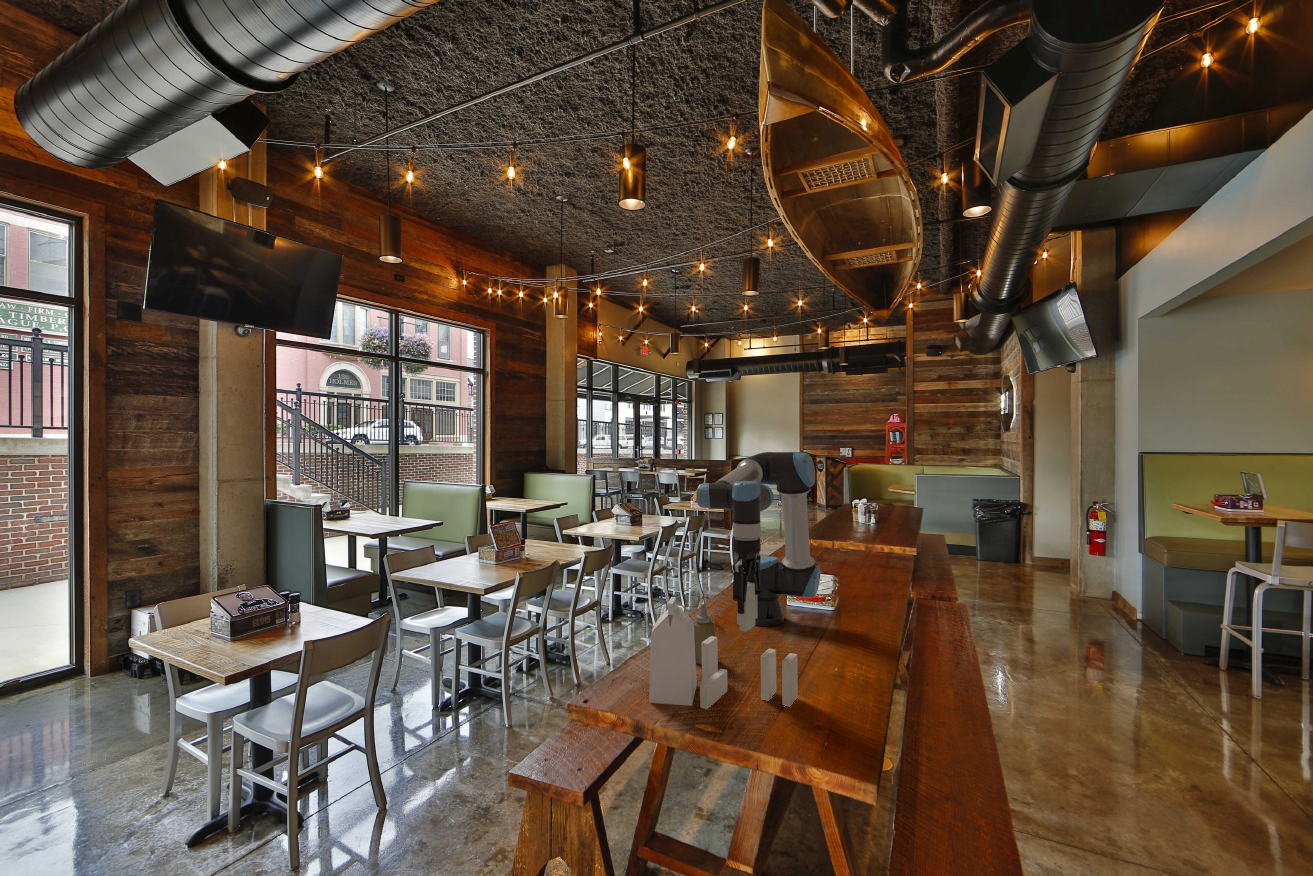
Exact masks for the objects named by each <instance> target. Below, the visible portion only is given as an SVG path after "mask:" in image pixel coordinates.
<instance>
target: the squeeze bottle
mask: <svg viewBox="0 0 1313 876" xmlns="http://www.w3.org/2000/svg"><path fill="white" fill-rule="evenodd" d="M693 624H694V641H695V662H696V664H698V665H701V666H702V646H701V643H702V642H703V641H705V640H706V639H708V638H709V637H711V636H714V637H716V633H715V625H714V622H712V617H711V614H709V613H708V612H707V608H706V604H705V603H702V604H700V609H699V614H696V615H695V622H694V621H693Z"/></svg>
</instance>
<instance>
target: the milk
mask: <svg viewBox="0 0 1313 876" xmlns="http://www.w3.org/2000/svg"><path fill="white" fill-rule="evenodd" d="M677 602H678V601H677V596H676V597H675V596H671V597H670V599H669V601H668V603H667V610H666V611H665V612H664V613H662V614H661V615H660V616H659V618H658V619H657V620H656V621H655V624H654V626H653V628H652V629H651V633H650V634H651V635H650V654H649V655H650V658H649V659H650V660H649V661H650V662H649V665H650V666H649V691H648V692H649V693H648V694H649V696H648V703H649V704H660V705H661V704H663V705H677V706H688V707H689V706H690V707H692V706H693V702H694V698H695V693H696V689H697V685H698V683H697V668H696V667H697V666H696V664H697V663H696V662H695V641H694V621H693V619H692V618H691V617H690V616H689V615H688V614H687V613H686V612H685V611H684V610H683V609H682V608H680V606H678V603H677Z"/></svg>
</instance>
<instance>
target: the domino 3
mask: <svg viewBox="0 0 1313 876" xmlns="http://www.w3.org/2000/svg"><path fill="white" fill-rule="evenodd" d="M746 601H747V618H748V625H747V626H744V625H739V631H741V632H745V633H746V632H748V631H749V630H750V629H752V628H753V627H755V626H756V625H755V583H753V582H748V584H747V593H746Z"/></svg>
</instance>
